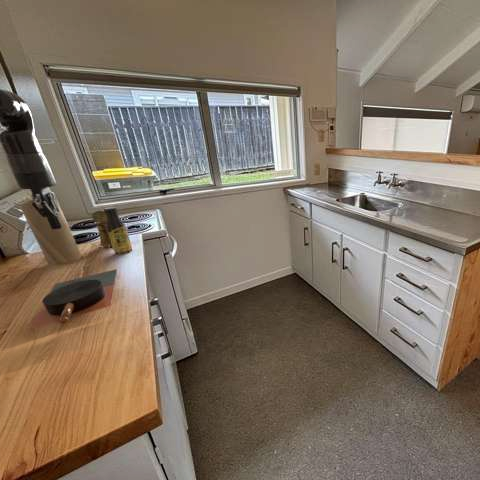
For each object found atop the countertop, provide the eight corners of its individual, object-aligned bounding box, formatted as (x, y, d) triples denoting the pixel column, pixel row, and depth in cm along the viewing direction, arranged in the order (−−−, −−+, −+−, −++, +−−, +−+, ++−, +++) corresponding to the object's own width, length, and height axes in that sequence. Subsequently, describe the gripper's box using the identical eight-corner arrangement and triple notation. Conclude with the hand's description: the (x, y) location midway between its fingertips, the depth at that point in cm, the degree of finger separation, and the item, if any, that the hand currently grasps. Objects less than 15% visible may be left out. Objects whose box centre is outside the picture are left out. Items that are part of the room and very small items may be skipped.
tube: (58, 268, 98) (27, 205, 89) (43, 265, 102) (12, 203, 92) (87, 257, 107) (62, 198, 97) (73, 254, 110) (47, 197, 101)
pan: (31, 341, 61) (23, 329, 60) (54, 298, 78) (49, 288, 76) (99, 320, 67) (94, 309, 66) (108, 284, 84) (104, 275, 83)
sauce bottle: (122, 257, 106) (105, 210, 98) (112, 255, 108) (94, 209, 100) (137, 250, 112) (122, 206, 104) (127, 249, 113) (111, 205, 106)
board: (29, 332, 65) (28, 329, 65) (56, 285, 86) (55, 283, 86) (111, 307, 74) (110, 305, 74) (118, 270, 95) (117, 268, 95)
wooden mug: (99, 253, 111) (83, 213, 104) (102, 243, 121) (87, 206, 114) (124, 247, 115) (111, 209, 108) (124, 239, 126) (112, 203, 119)
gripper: (21, 169, 75) (47, 225, 82) (2, 173, 65) (33, 237, 71) (56, 167, 79) (77, 220, 85) (43, 171, 68) (68, 231, 75)
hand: (57, 228), depth 78 cm, fingers closed
